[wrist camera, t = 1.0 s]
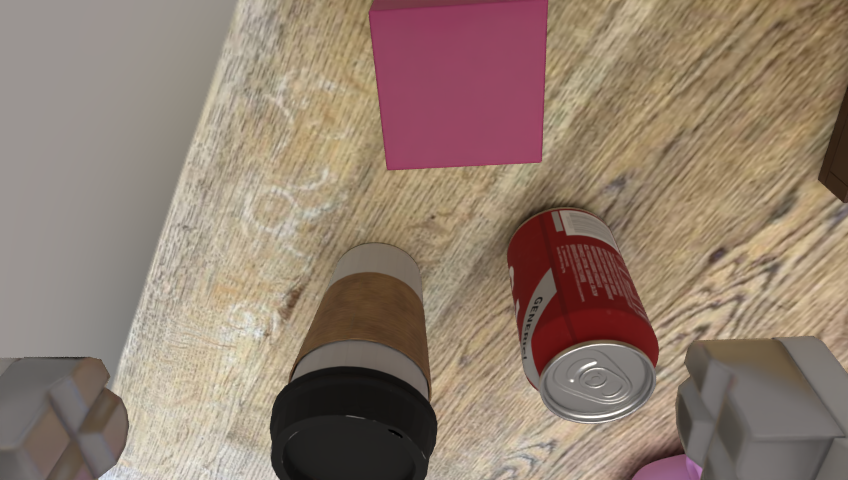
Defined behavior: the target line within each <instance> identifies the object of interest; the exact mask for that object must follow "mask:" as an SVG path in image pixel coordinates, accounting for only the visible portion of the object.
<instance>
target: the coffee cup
mask: <svg viewBox="0 0 848 480" xmlns="http://www.w3.org/2000/svg"><path fill="white" fill-rule="evenodd" d="M431 390H432V389H431V378H430V368H429V357H428V347H427V336H426V326H425V315H424V309H423V295H422V279H421V274H420V270H419V268H418V266H417V264H416V263H415V261H414V260H413V259H412V258H411V257H410V256H409V255H408V254H407V253H406V252H404V251H402V250H401V249H399V248H397V247H394V246H391V245H387V244H382V243H369V244H363V245H360V246H357V247H355V248H353V249H351V250H349V251H348V252H346V253H345V254H344V255H343V256H342V257H341V259H340V260H339V261H338V263H337V266H336V268H335V270H334V273H333V275H332V278H331V280H330V283H329V285H328V288H327V290H326V292H325V294H324V297H323V299H322V301H321V303H320V306H319V308H318V310H317V313H316V315H315V317H314V320H313V322H312V324H311V326H310V329H309V331H308V333H307V336H306V338H305V340H304V342H303V345H302V347H301V349H300V352H299V354H298V356H297V359H296V361H295V363H294V365H293V368H292V370H291V372H290V376H289V383H288V385H286V386H285V387H284V388H283V389H282V391H281V392H280V393H279V394H278V396H277V398H276V400H275V402H274V405H273V408H272V416H271V422H270V434H271V440H272V446H271V463H272V467H273V469H274V471H275V473H276V475H277V477H278V478H279V479H280V480H424V479H425V477H426V475H427V470H428V464H429V458H430V456H431V454H432V452H433V450H434V447H435V444H436V435H437V420H436V416H435V412H434V410H433V409H432V407H431V405H430V401H431Z"/></svg>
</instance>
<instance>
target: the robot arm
mask: <svg viewBox="0 0 848 480" xmlns="http://www.w3.org/2000/svg"><path fill="white" fill-rule="evenodd" d="M684 363H685V365H686V367H687V370H688V372H689V374H690V377H689V378H688V379H686V380H685V381H684V382H683V383H682V384H681V385H679V387H678V392H677V398H676V403H675V407H676V424H677V428H678V433H679V437H680V440H681V443H682V446H683V448H684V451H685V454H686V456H687V457H688V458H690V459H691V460H692V461H693V462H695V463H696V464H697V465H698V466H700V467H701V468H702V469H703V470H702V473H701V477H700V480H848V373H847V372H846V371H845V370H844V368H843V367H842V366H841V364H840V363H839V362H838V360H837V359H836V358H835V357H834V355H833V354H832V353H831V351H830V350H829V349H828V348H827V346H826V345H825V344H824V343H823V342H822V341H821V340H819V339H818V338H816V337H814V336H799V337H774V338H771V339H769V338H755V339H727V340H698V341H693V342H692V343H691V345H690V346H689V347H688V349H687V353H686V357H685V361H684ZM109 379H110V375H109V373H108V371H107V369H106V367H105V366H104V364H103V362H102V360H101V359H96V358H92V357H24V358H0V480H98V478H99V477H101V476H102V475H103V474H104V473H106V472H107V471H108V470H110V469H111V468H112V467H113V466H115V465H116V464H117V462H118V460H119V458H120V456H121V454H122V452H123V450H124V448H125V445H126V440H127V435H128V429H129V421H128V414H127V409H126V407H125V405H124V403H123V401H122V399H121V398H120V397H119V396H117V395H116V394H114V393H113V392H111V391H110V390H109V389H107V388H106V385H107V383H108V381H109Z"/></svg>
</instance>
